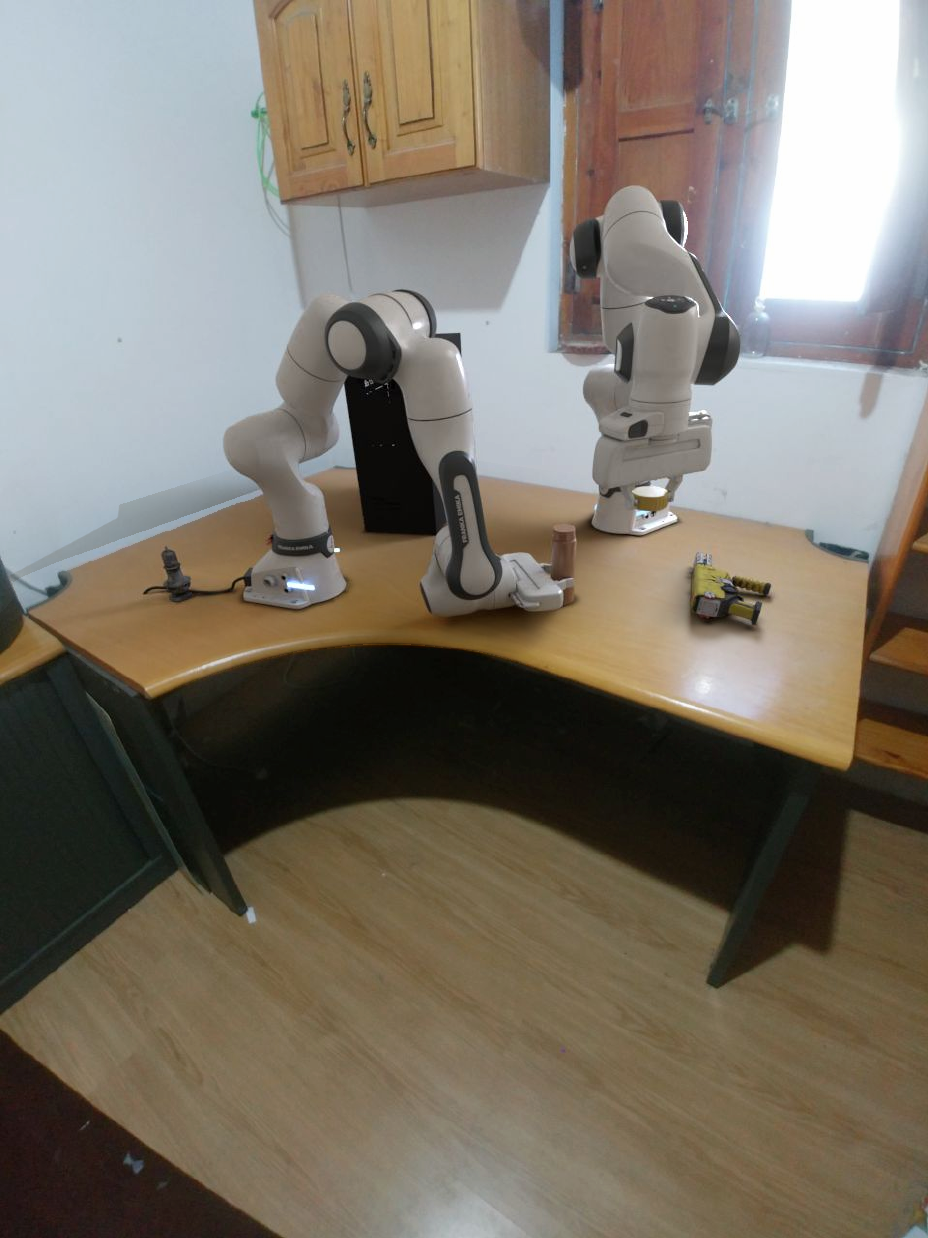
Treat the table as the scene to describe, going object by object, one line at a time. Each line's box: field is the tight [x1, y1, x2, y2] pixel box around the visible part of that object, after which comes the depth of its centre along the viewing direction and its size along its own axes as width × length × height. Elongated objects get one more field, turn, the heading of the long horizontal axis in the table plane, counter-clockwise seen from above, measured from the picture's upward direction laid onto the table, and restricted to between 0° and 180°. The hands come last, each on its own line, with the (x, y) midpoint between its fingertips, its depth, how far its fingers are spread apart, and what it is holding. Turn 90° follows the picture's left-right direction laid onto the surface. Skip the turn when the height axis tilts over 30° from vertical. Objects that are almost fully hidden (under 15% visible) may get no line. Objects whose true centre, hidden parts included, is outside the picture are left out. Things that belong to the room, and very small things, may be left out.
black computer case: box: [343, 332, 463, 535], centre depth 166 cm, size 38×20×45 cm, turn 167°
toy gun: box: [690, 551, 772, 626], centre depth 121 cm, size 5×24×15 cm
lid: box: [632, 485, 669, 511], centre depth 98 cm, size 6×6×2 cm
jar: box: [550, 523, 578, 606], centre depth 121 cm, size 5×5×16 cm
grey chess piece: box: [160, 546, 195, 602], centre depth 132 cm, size 6×6×12 cm
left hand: (566, 574), depth 123 cm, fingers closed on jar, 5 cm apart
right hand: (648, 505), depth 98 cm, fingers closed on lid, 5 cm apart
